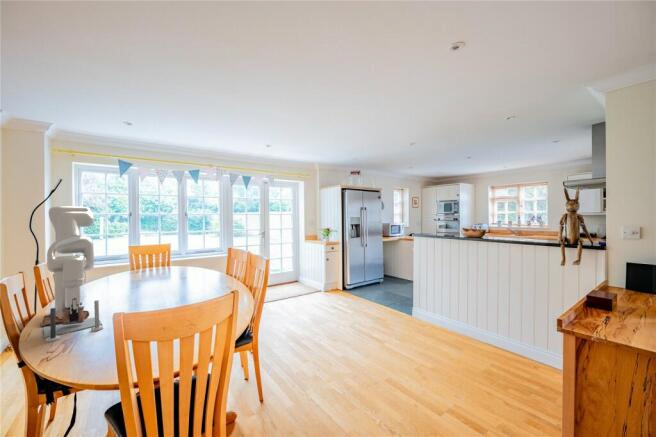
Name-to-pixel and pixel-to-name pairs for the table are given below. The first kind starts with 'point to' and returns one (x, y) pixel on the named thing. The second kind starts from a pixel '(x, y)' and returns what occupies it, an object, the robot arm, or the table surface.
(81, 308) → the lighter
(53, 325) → the dark grey post
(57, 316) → the sunglasses case
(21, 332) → the table surface
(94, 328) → the grey post
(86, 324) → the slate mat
